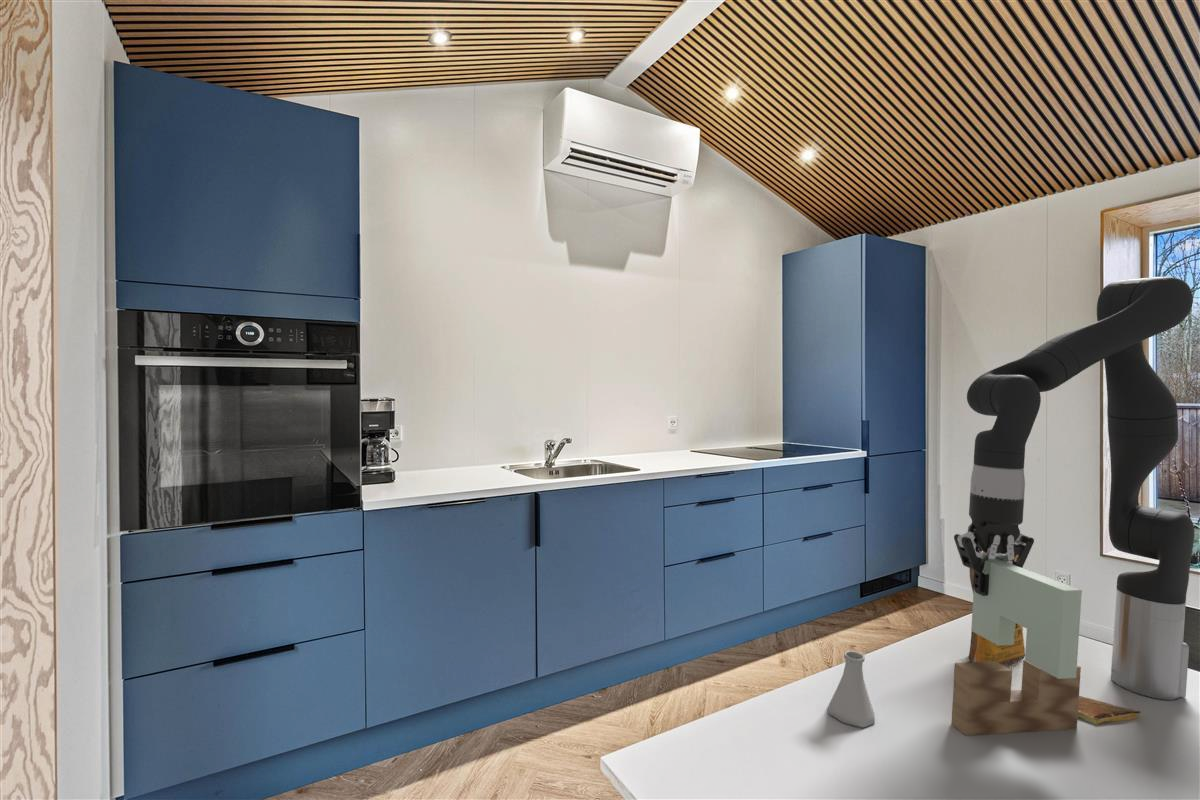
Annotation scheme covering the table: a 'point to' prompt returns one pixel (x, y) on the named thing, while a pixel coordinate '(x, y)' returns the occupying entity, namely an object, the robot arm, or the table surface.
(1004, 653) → the pancake mix bag
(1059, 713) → the walnut board
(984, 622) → the sage board
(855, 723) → the flask
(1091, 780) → the table surface
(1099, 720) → the shard
